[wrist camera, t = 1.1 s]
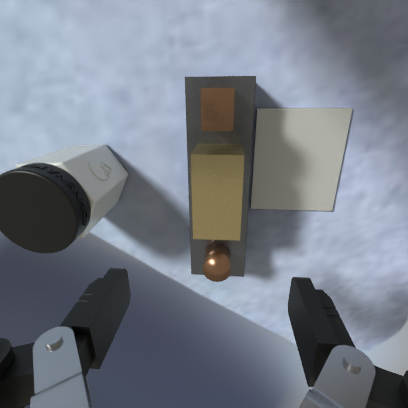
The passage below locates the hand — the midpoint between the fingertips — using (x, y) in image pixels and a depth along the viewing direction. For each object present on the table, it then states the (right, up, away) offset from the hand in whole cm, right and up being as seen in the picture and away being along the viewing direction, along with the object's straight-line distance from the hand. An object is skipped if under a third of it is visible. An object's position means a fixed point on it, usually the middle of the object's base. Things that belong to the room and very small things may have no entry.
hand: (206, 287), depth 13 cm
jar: (-14, +8, +21) cm, 27 cm away
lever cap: (+1, +6, +15) cm, 16 cm away
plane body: (+2, +7, +20) cm, 21 cm away
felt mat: (+11, +9, +18) cm, 23 cm away
